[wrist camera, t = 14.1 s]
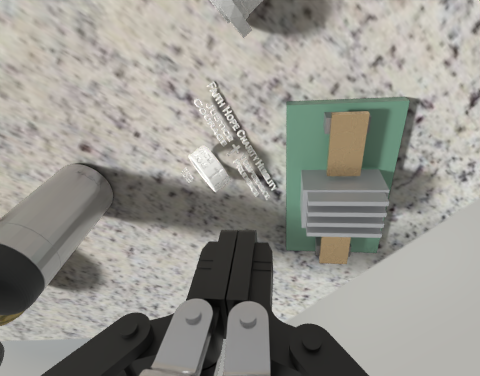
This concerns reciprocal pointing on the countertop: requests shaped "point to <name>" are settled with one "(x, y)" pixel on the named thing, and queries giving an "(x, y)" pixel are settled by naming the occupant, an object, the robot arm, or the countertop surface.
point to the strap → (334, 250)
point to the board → (317, 153)
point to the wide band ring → (210, 164)
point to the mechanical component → (237, 12)
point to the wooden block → (346, 143)
